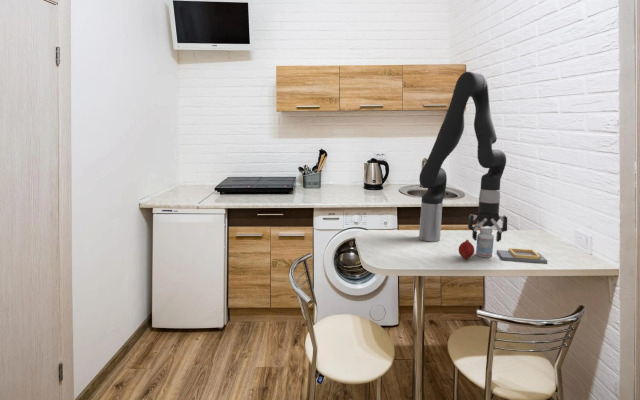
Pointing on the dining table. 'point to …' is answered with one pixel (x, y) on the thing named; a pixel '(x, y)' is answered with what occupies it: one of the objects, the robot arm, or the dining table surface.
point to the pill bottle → (484, 242)
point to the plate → (521, 255)
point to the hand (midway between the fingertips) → (486, 240)
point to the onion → (466, 249)
